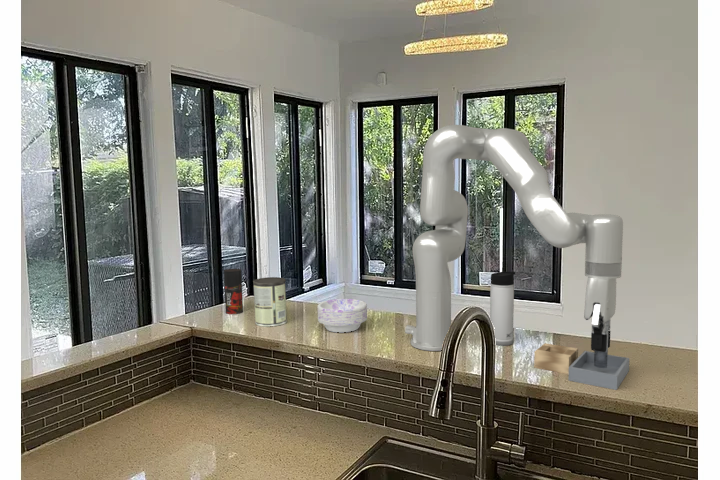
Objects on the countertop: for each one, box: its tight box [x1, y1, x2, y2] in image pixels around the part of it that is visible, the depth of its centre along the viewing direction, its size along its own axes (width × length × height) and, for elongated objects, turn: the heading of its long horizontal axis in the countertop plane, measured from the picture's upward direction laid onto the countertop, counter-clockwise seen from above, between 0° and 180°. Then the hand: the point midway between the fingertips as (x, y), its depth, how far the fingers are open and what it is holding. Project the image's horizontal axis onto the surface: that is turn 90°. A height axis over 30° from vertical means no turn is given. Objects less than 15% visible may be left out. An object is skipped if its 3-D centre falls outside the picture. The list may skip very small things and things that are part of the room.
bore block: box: [533, 342, 579, 375], centre depth 131 cm, size 8×8×4 cm
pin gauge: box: [593, 318, 609, 368], centre depth 124 cm, size 3×3×12 cm
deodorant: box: [223, 268, 244, 315], centre depth 190 cm, size 6×6×15 cm
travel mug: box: [489, 270, 516, 347], centre depth 150 cm, size 6×7×20 cm
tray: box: [568, 350, 630, 391], centre depth 125 cm, size 10×14×3 cm
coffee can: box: [252, 276, 288, 328], centre depth 175 cm, size 10×10×14 cm
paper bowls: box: [316, 298, 368, 334], centre depth 167 cm, size 15×15×8 cm
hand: (600, 348), depth 124 cm, fingers closed on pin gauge, 2 cm apart
